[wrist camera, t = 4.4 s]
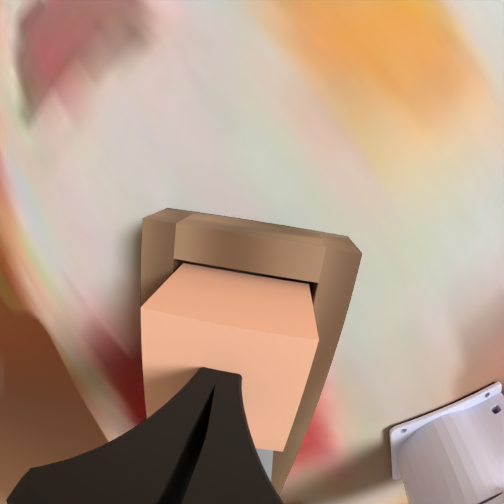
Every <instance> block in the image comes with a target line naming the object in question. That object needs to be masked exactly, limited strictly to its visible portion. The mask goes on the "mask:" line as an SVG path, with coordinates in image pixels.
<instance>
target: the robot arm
mask: <svg viewBox="0 0 504 504" xmlns="http://www.w3.org/2000/svg"><path fill="white" fill-rule="evenodd" d="M501 389H502V384H501V383H500V382H496V383H494V384H492V385H490V386H489V387H487V388H485V389H483V390H481V391H479V392H477V393H475V394H473V395H470V396H468V397H466V398H464V399H462V400H460V401H458V402H455V403H453V404H451V405H448V406H446V407H444V408H441V409H439V410H437V411H434V412H432V413H429V414H427V415H424V416H421V417H419V418H416V419H413V420H411V421H408V422H405V423H402V424H399V425H396V426H394V427H392V428H391V429H390V431H389V435H390V447H391V463H392V478H393V480H394V481H397V480H401V479H403V483H404V487H405V491H406V494H407V498H408V502H409V504H504V396H503V394H502V393H501ZM6 501H7V504H284V503H283V501H282V500H281V498H280V496H279V495H278V493H277V492H276V490H275V488H274V487H273V485H272V483H271V481H270V479H269V477H268V475H267V473H266V471H265V469H264V467H263V465H262V463H261V460H260V458H259V456H258V453H257V451H256V448H255V445H254V442H253V439H252V436H251V433H250V430H249V426H248V423H247V418H246V414H245V410H244V404H243V397H242V376H241V375H240V374H237V373H231V372H226V371H221V370H216V369H211V368H206V367H201V368H200V369H199V370H198V371H197V372H196V373H195V375H194V376H193V377H192V378H191V379H190V380H189V381H188V382H187V383H186V385H185V386H184V387H183V388H182V389H181V390H180V391H179V392H178V393H176V394H175V395H174V396H173V397H172V398H171V399H170V400H169V401H168V402H167V403H166V404H165V405H163V406H162V407H161V408H160V409H158V410H157V411H156V412H155V413H153V414H152V415H151V416H150V417H148V418H147V419H146V420H144V421H143V422H142V423H140V424H139V425H137V426H136V427H134V428H133V429H131V430H130V431H128V432H126V433H125V434H123V435H121V436H119V437H118V438H116V439H114V440H112V441H110V442H108V443H106V444H105V445H102V446H100V447H98V448H96V449H93V450H91V451H88V452H86V453H83V454H81V455H78V456H75V457H73V458H70V459H67V460H64V461H60V462H56V463H52V464H48V465H44V466H40V467H35V468H30V470H29V471H28V472H27V473H26V474H25V475H24V476H23V477H22V478H21V480H20V481H19V482H18V484H17V485H16V487H15V488H14V489H13V491H12V492H11V494H10V495H9V497H8V498H7V500H6Z"/></svg>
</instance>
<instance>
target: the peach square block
mask: <svg viewBox="0 0 504 504" xmlns="http://www.w3.org/2000/svg"><path fill="white" fill-rule="evenodd" d="M318 342H319V337H318V331H317V326H316V320H315V314H314V309H313V303H312V298H311V293H310V287H309V284H305V283H299V282H293V281H286V280H280V279H274V278H268V277H262V276H256V275H250V274H244V273H238V272H232V271H226V270H220V269H215V268H209V267H203V266H198V265H192V264H186V263H183V264H182V265H181V266H180V267H179V268H178V269H177V270H176V271H175V272H174V273H173V274H172V275H171V276H170V277H169V278H168V279H167V280H166V281H165V282H164V284H163V285H162V286H161V287H160V288H159V289H158V290H157V291H156V292H155V293H154V294H153V295H152V296H151V297H150V298H149V299H148V300H147V301H146V302H145V303H144V304H143V306H142V307H141V343H142V364H143V380H144V393H145V405H146V415H147V418H148V417H150V416H151V415H152V414H153V413H155V412H156V411H157V410H158V409H160V408H161V407H162V406H163V405H165V404H166V403H167V402H168V401H169V400H170V399H171V398H172V397H173V396H174V395H175V394H176V393H178V392H179V391H180V390H181V389H182V388H183V387H184V386H185V385H186V383H187V382H188V381H189V380H190V379H191V378H192V377H193V376H194V375H195V373H196V372H197V371H198V370H199V369H200V368H201V367H206V368H211V369H216V370H221V371H226V372H231V373H237V374H240V375H241V376H242V397H243V404H244V410H245V414H246V418H247V423H248V426H249V430H250V433H251V436H252V439H253V442H254V445H255V448H258V449H265V450H273V451H282V452H283V450H284V447H285V445H286V442H287V439H288V436H289V433H290V431H291V428H292V425H293V422H294V419H295V416H296V413H297V410H298V407H299V404H300V401H301V398H302V395H303V392H304V389H305V385H306V382H307V379H308V376H309V373H310V369H311V366H312V363H313V359H314V356H315V352H316V349H317V345H318Z"/></svg>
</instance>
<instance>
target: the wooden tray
mask: <svg viewBox="0 0 504 504" xmlns="http://www.w3.org/2000/svg"><path fill="white" fill-rule="evenodd" d="M361 256H362V253H361V252H360V250H359V249H358V248H357V247H356V246H355V244H354V243H353V242H352V241H351V240H350V238H349V237H348V236H342V235H336V234H331V233H325V232H319V231H314V230H308V229H302V228H296V227H290V226H284V225H278V224H271V223H265V222H259V221H253V220H246V219H240V218H233V217H227V216H220V215H213V214H206V213H200V212H193V211H186V210H178V209H171V208H167V209H164V210H162V211H159V212H157V213H154V214H152V215H150V216H147V217H145V218H143V226H142V246H141V289H140V305H141V307H142V306H143V304H144V303H145V302H146V301H147V300H148V299H149V298H150V297H151V296H152V295H153V294H154V293H155V292H156V291H157V290H158V289H159V288H160V287H161V286H162V285H163V284H164V282H165V281H166V280H167V279H168V278H169V277H170V276H171V275H172V274H173V273H174V272H175V271H176V270H177V269H178V268H179V267H180V266H181V265H182V264H183V263H186V264H192V265H198V266H203V267H209V268H215V269H220V270H226V271H232V272H238V273H244V274H250V275H256V276H262V277H268V278H274V279H280V280H286V281H293V282H299V283H305V284H309V287H310V293H311V298H312V303H313V309H314V314H315V320H316V326H317V331H318V337H319V342H318V345H317V349H316V352H315V356H314V359H313V363H312V366H311V369H310V373H309V376H308V379H307V382H306V385H305V389H304V392H303V395H302V398H301V401H300V404H299V407H298V410H297V413H296V416H295V419H294V422H293V425H292V428H291V431H290V433H289V436H288V439H287V442H286V445H285V447H284V450H283V452H282V451H273V461H272V475H271V483H272V485H273V487H274V488H275V490H276V492H277V493H278V495H279V493H280V491H281V489H282V487H283V485H284V483H285V481H286V478H287V476H288V474H289V472H290V469H291V467H292V465H293V463H294V460H295V458H296V456H297V453H298V451H299V449H300V446H301V444H302V441H303V439H304V436H305V434H306V432H307V429H308V426H309V424H310V421H311V419H312V416H313V414H314V411H315V408H316V406H317V403H318V400H319V397H320V395H321V392H322V389H323V386H324V383H325V380H326V378H327V375H328V372H329V369H330V366H331V363H332V360H333V357H334V354H335V350H336V347H337V344H338V341H339V338H340V334H341V331H342V328H343V324H344V321H345V317H346V314H347V310H348V307H349V303H350V300H351V296H352V292H353V288H354V284H355V281H356V277H357V273H358V269H359V265H360V260H361ZM141 347H142V343H141ZM142 367H143V364H142ZM143 382H144V380H143ZM144 395H145V393H144ZM145 406H146V405H145ZM146 416H147V415H146Z"/></svg>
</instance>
